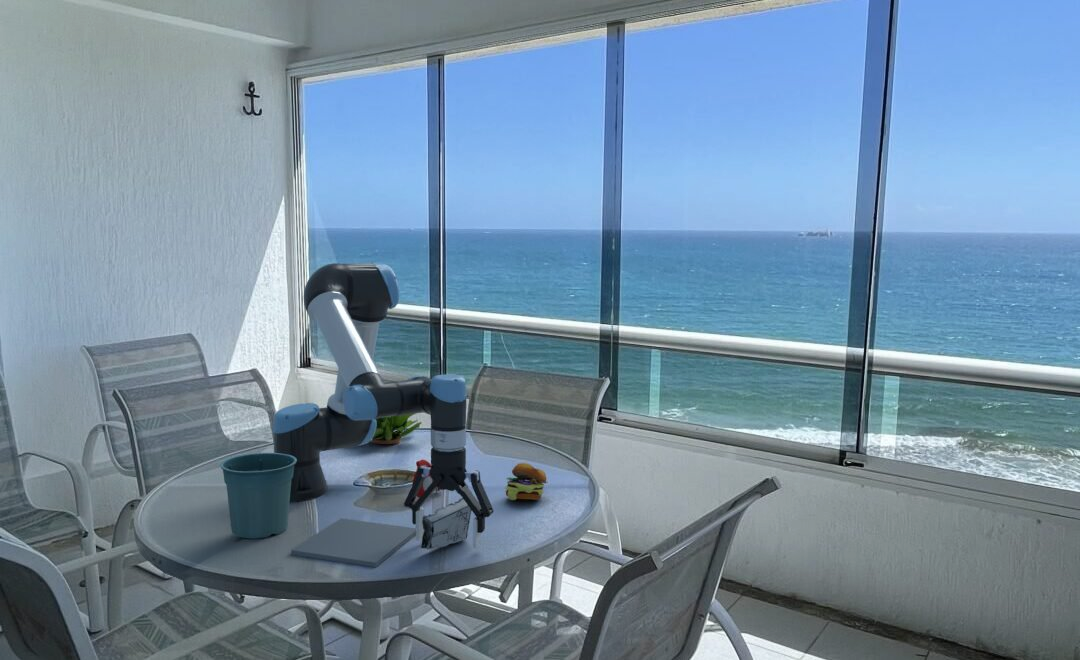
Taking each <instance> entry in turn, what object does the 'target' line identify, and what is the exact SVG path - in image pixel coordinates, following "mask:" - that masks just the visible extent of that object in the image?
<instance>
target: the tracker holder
mask: <svg viewBox="0 0 1080 660" xmlns="http://www.w3.org/2000/svg"><path fill="white" fill-rule="evenodd" d="M422 465H426V466H427V467H428V468H431V462H429V461H427V460H426V459H420V460H418V461H417V460H416V471H415V473H414V475H413V480H412V485H413V483H414V481H415V479H416V476H417V469H418V468H419V467H421V466H422ZM432 482H433V479H432V478H431V476H430V474H428V476H426V477H425V479H424V481H423V484H422V486H421V488H420V490H419V492H418V494H417V496H416V497H417V498H418V499H419V498H420V496H421V495H422V494H423V493H424V492H425V491H426V489H427V488H428V487H429V485H430V484H431V483H432ZM412 485H411V486H412ZM440 491H441V490H440V488H438V487H437V488H436V489H435V493H438V492H440Z"/></svg>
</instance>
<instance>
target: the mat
mask: <svg viewBox="0 0 1080 660" xmlns="http://www.w3.org/2000/svg"><path fill="white" fill-rule="evenodd" d="M414 537H416V527H408V526H400V525H394V524H385V523H381V522H380V523H379V522H371V521H364V520H357V519H348V518H342V517H341V518H339V519H337V520H336V521H335V522H333V523H331V524H330V525H328V526H327V527H325V528H324V529H322V530H321V531H319V532H317V533H316V534H314V535H313V536H311V537H310V538H308V539H306V540H305V541H303V542H301V543H300V544H299V545H296V546H295V547H293V548H292V549H290V554H291V555H292V556H299V557H307V558H311V559H318V560H326V561H333V562H338V563H345V564H351V565H358V566H363V567H365V566H366V567H373V568H377V567H378V566H379V565H381V564H382V563H383V562H384V561H385V560H387V559H388V558H389V557H391V556H392V555H393V554H394V553H396V551H398V550H400V548H402V546H404V545H406V543H408V542H409V541H410V540H411V539H413V538H414ZM291 555H290V556H291Z"/></svg>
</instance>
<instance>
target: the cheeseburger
mask: <svg viewBox="0 0 1080 660" xmlns="http://www.w3.org/2000/svg"><path fill="white" fill-rule="evenodd" d="M511 474H512V475H513V476H514V477H507V478H506V480H508V481H507V482H506V484H507V485H506V486H505V488H504V489H506V490H505V495H506V497H507V498H508V499H509V500H511V501H516V500H535V501H536V500H537V501H538V500H541V497H542V495H543V493H544V488H545V485H544V484H548V481H547V475H546V472H545V471H544V470H543V469H541V468H535V467H534V466H532V465H531V464H530V463H528V462H520V463H517V464H516V465H515V466H514V467H513V468H512V471H511Z"/></svg>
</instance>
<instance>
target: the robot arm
mask: <svg viewBox="0 0 1080 660" xmlns="http://www.w3.org/2000/svg"><path fill="white" fill-rule="evenodd" d="M396 275H397V274H396V273H395V272H394V270H393V269H392V268H391V266H389V264H388V265H387V264H385V263H375V262H371V263H369V262H368V263H366V262H365V263H362V262H361V263H360V262H359V263H329V264H325V265H323V266H321V267H319V268H318V269H316V270H315V271H314V272H313V273H312V274H311V275H310V277H309V278H308V280H307V282H306V284H305V286H304V290H303V305H304V308H305V311H306V313H307V315H308V317H309V318H310V319H311V321H313V322H315V323H317V327H318V328H319V330H320V332H321V335H322V336H323V338H324V341H325V343H326V345H327V346H328V349H329V352H330V353H331V355H332V358H333V359H334V362H335V363H336V366H337V368H338V369H337V377H336V383H335V389H334V393H333V394H331V395H330V396H329V397H328V399H327V404H326V407H319V405H318V404H317V403H314V402H307V403H295V404H292V405H289V406H288V405H287V406H284V407H282V408H280V409H279V410H278V411H276V412H275V414H274V415H273V424H272V425H273V426H272V432H273V453H280V454H287V455H291V456H294V457H295V458H296V459H297V462H296V464H295V465H294V472H293V478H292V480H291V490H290V502H303V501H308V500H314V499H316V498H319V497H321V496H323V495H326V493H327V491H328V483H327V480H326V478H325V474H324V471H323V468H322V465H321V462H320V461H321V460H320V459H321V458H320V455H321V454H320V453H321V452H326V451H332V450H334V451H335V450H338V449H346V448H356V447H358V446H362V445H366V444H369V443H370V442H371V440H372V438H373V436H374V434H375V431H376V425H377V421H376V418H384V417H391V416H400V415H408V414H414V415H416V414H421V413H424V414H427V415H429V416H430V445H431V447H432V448H431V449H430V464H431V468H428V467H427V466H426V465H422V466H421V467H419V468H418V469H417V468H416V470H417V476H416V479H415V481H414V483H413V482H412V483H413V485H411V487H410V490H409V492H408V494H407V496H406V498H405V500H404V502H403V506H404V507H405V508H409V509H411V513H412V515H411V517H412V518H411V519H412V520H411V522H412V525H415V528H416V535H415V541H418V542H419V541H422V537H423V533H424V529H423V525H422V520H423V519H422V518H423V516H425V508H424V507H422V506H423V504H425V502H426V501H427V500H428V499H429V498H430V497H431V495H432V494H433V493H434V492H436V490H435V489H436V488H437V487H438V488H440V491H441V490H442V491H446V490H448V491H450V492H454V491H455V492H456V493H457V494H458V495H460V496H461V498H463V499H464V500H465V502H466V503H467V505H468V506H469V507H470V509H471V510H472V511H471V513H473V515H474V516H475V517H474V518H472V519H473V520H472V549H478V548H479V546H480V545H481V544H482V541H481V540H482V533H483V532H484V531H485V529H486V518H489V517H490V516H491V515H492V514H493V513H494V508H493V505H492V504H491V501H490V499H489V497H488V495H487V492H486V490H485V487H484V485H483V482H482V480H481V473H480V471H479V470H478V469H476V470H474V471H467V468H466V464H467V461H466V460H467V449H466V445H467V433H466V432H467V426H466V425H467V396H468V394H467V388H466V387H467V383H466V378H464V377H463V376H461V375H458V374H450V373H449V374H448V373H447V374H438V375H434V376H433V377H432V378H431V377H427V376H424V375H423V376H422V375H421V376H419V375H415V376H414V375H413V376H411V377H410V378H408V379H407V380H397V381H387V382H385V381H384V379H383V377H382V375H381V374H380V372H379V370H378V368H377V366H376V364H375V362H374V358H375V357H374V356H375V351H376V345H377V338H378V334H379V333H378V332H379V329H380V328H379V327H380V323H382V322H384V321H385V320H386V319H387V315H388V311H389V310H393V309H394V308H396V307H397V305H398V304H399V301H400V287H399V281H398V279H397V276H396ZM415 413H416V414H415ZM428 474H430V476H431V478H432V479H433V482H432V483H431V484H430V485H429V487H428V488H427V489H426V491H425V492H424V493H423V494H422V495H421V496H420V498H419V497H418V499H417V498H416V497H417V494H418V492H419V490H420V488H421V486H422V484H423V481H424V479H425V477H426V476H428ZM466 479H468V482H469V483H471V488H472V490H473V492H474V493H475V494H473V493H472V491H471V490H470V488H469V485H468V484H467V482H466V481H465V480H466ZM416 499H417V500H416ZM415 500H416V501H415Z"/></svg>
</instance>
